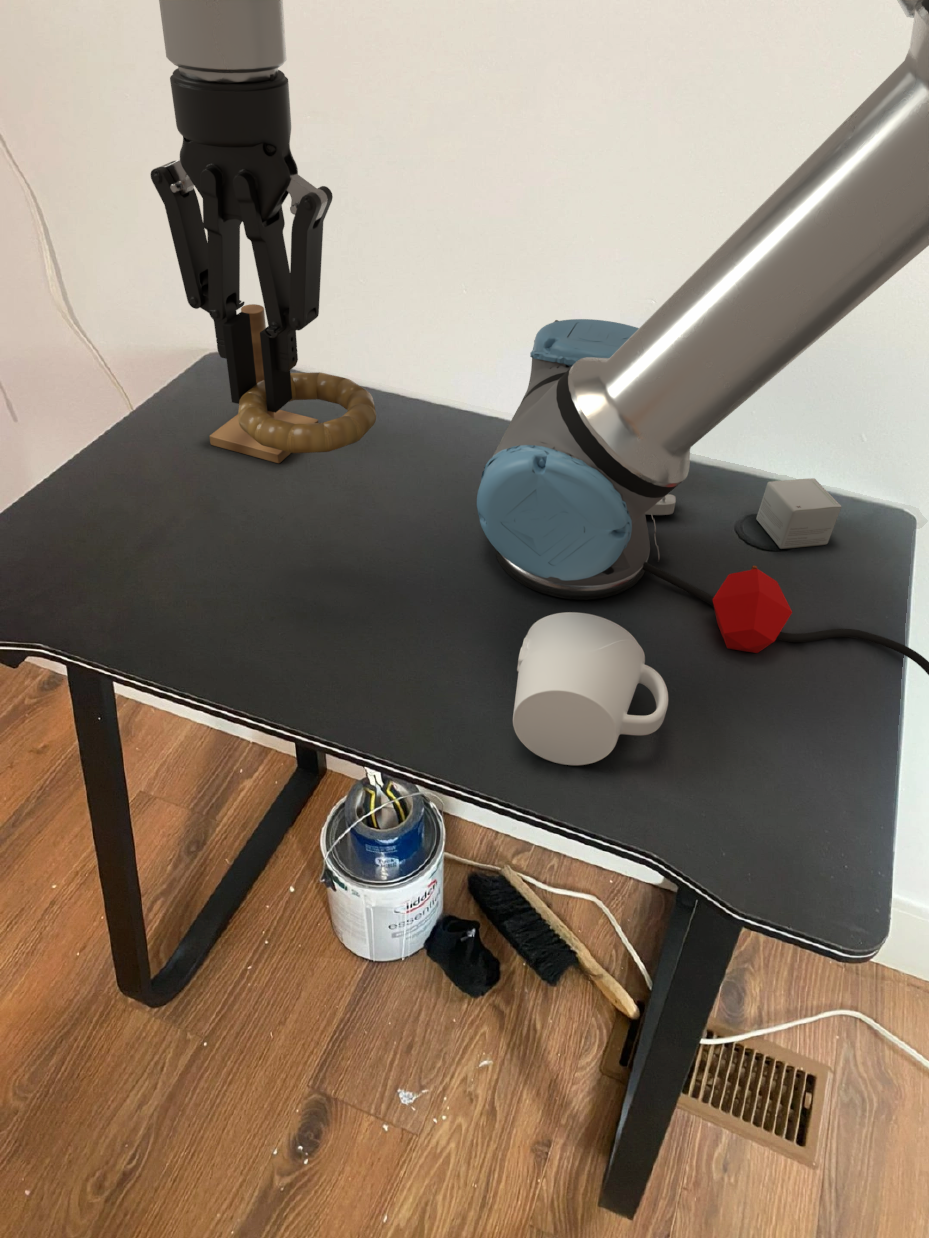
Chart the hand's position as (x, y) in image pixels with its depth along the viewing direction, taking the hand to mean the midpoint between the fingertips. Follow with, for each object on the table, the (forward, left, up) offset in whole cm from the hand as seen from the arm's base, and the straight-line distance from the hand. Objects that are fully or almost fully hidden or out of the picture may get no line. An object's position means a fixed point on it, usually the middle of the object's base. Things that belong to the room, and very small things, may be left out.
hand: (262, 399), depth 75 cm
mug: (-32, +6, -19) cm, 37 cm away
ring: (-4, 0, 0) cm, 4 cm away
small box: (-44, -30, -19) cm, 56 cm away
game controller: (-30, -24, -19) cm, 43 cm away
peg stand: (+15, -22, -19) cm, 33 cm away
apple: (-42, -11, -19) cm, 47 cm away
